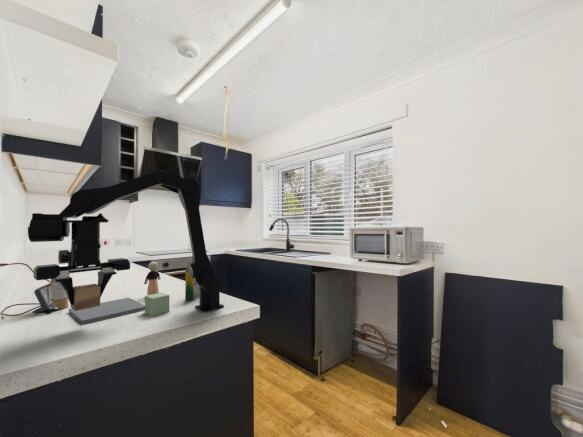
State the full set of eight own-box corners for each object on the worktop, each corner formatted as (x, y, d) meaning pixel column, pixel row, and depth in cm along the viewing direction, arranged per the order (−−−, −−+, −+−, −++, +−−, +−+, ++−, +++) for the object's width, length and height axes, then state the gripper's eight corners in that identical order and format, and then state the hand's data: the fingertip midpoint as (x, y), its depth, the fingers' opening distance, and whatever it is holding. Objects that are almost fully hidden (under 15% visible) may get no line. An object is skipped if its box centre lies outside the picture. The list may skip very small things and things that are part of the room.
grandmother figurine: (152, 299, 94) (152, 263, 94) (142, 299, 94) (142, 263, 94) (163, 293, 101) (163, 260, 102) (153, 293, 102) (153, 260, 102)
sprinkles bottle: (54, 306, 86) (54, 265, 86) (71, 305, 87) (71, 264, 88) (46, 311, 82) (47, 267, 82) (64, 309, 83) (65, 266, 83)
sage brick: (169, 311, 80) (169, 294, 80) (151, 316, 76) (151, 298, 76) (161, 308, 83) (162, 292, 83) (144, 312, 79) (144, 295, 79)
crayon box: (193, 300, 91) (193, 266, 91) (184, 300, 91) (184, 266, 91) (201, 295, 98) (201, 263, 99) (193, 295, 98) (193, 263, 99)
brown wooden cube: (100, 305, 67) (100, 286, 68) (75, 310, 64) (75, 289, 64) (94, 302, 71) (94, 283, 71) (70, 307, 67) (70, 287, 67)
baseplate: (146, 309, 82) (146, 306, 82) (82, 324, 70) (82, 320, 70) (128, 300, 92) (128, 297, 92) (68, 312, 80) (68, 309, 80)
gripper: (117, 238, 80) (117, 290, 80) (30, 241, 66) (30, 305, 65) (131, 239, 73) (130, 296, 72) (37, 242, 59) (36, 314, 58)
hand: (85, 302), depth 67 cm, fingers closed on brown wooden cube, 5 cm apart
